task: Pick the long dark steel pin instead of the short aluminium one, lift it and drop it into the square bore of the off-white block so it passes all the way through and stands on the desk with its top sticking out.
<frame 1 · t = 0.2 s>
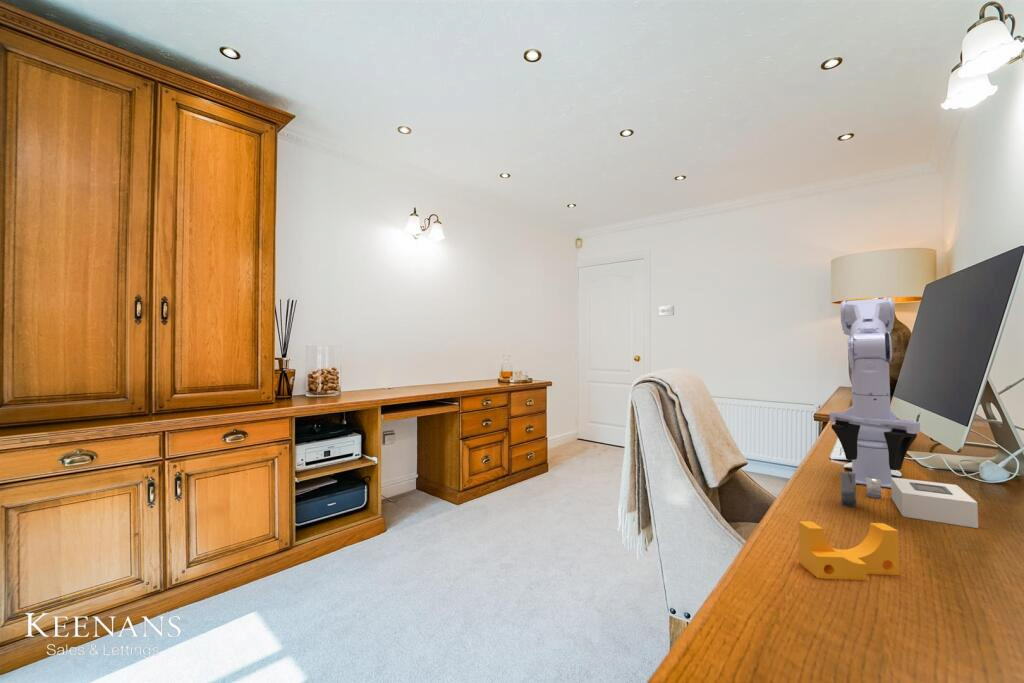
hand: (872, 464, 83), 10 cm above the table, fingers open, 7 cm apart
long pin: (848, 505, 87), on the table
pin block: (930, 511, 83), on the table
short pin: (874, 497, 92), on the table
pipe clamp: (852, 574, 61), on the table
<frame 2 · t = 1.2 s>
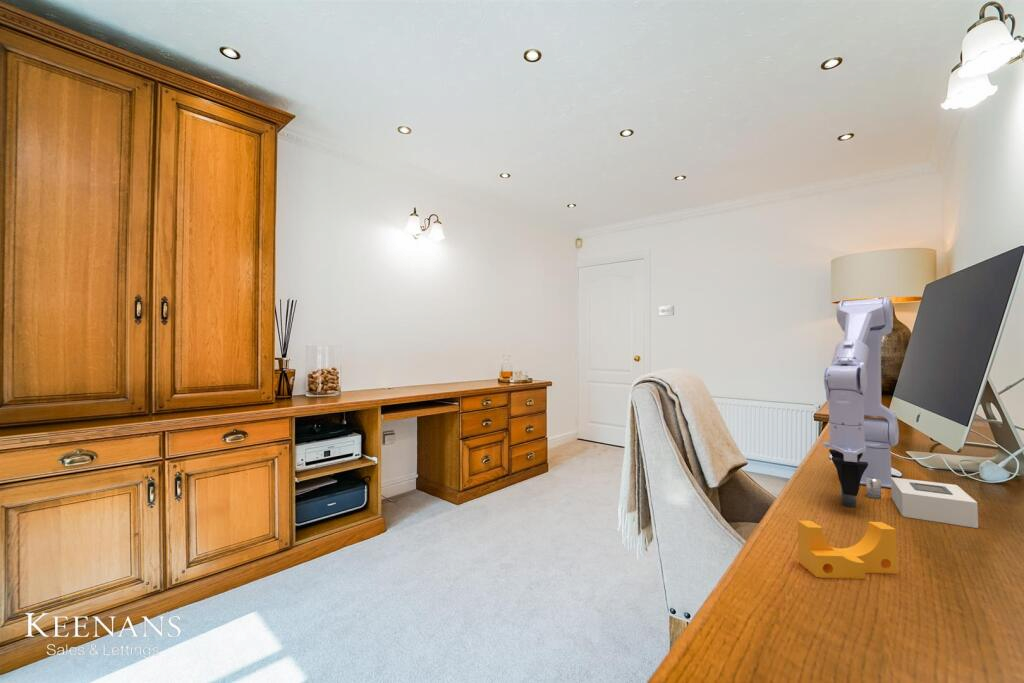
hand: (848, 489, 87), 3 cm above the table, fingers open, 7 cm apart
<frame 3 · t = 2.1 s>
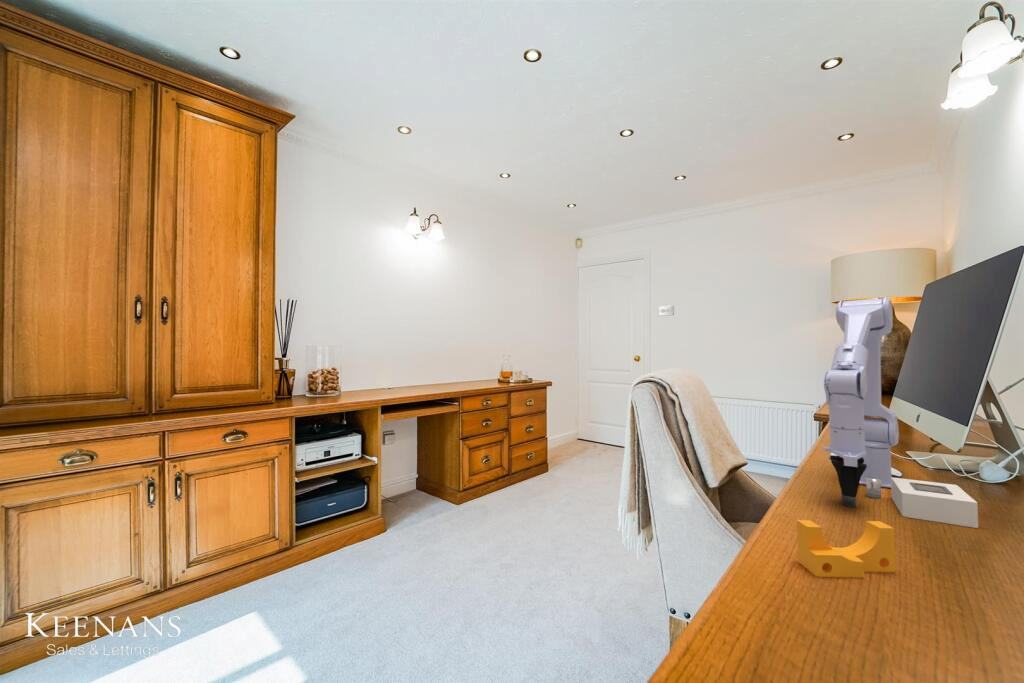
hand: (848, 493, 87), 2 cm above the table, fingers closed on long pin, 2 cm apart
long pin: (848, 505, 87), on the table, touching gripper
everything else where it was.
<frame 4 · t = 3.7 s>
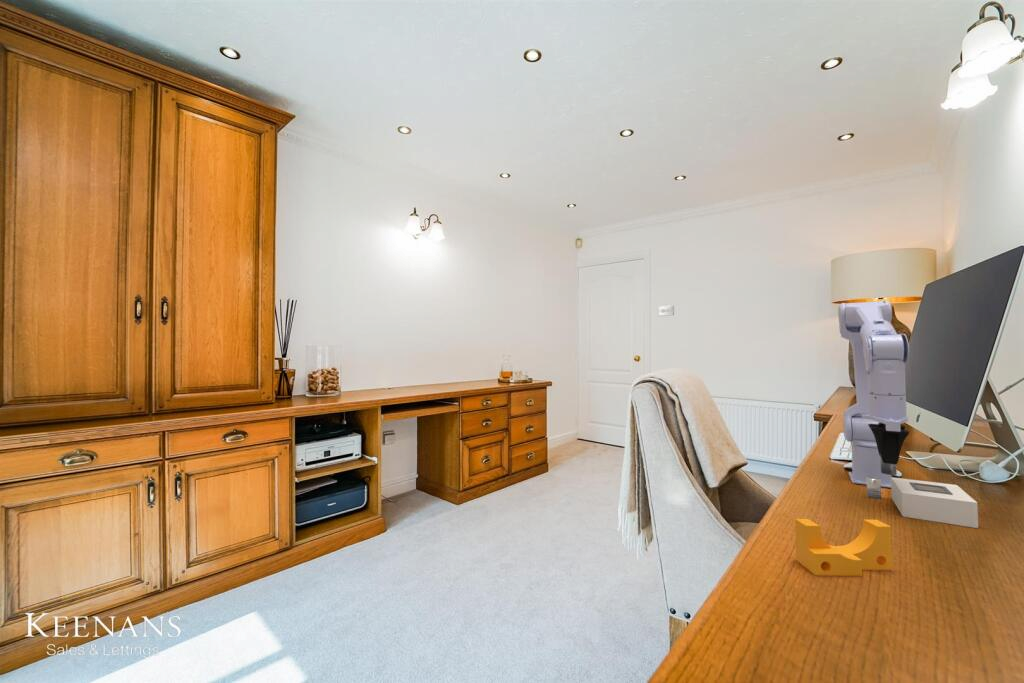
hand: (888, 461, 86), 9 cm above the table, fingers closed on long pin, 2 cm apart
long pin: (888, 473, 86), point 7 cm above the table, touching gripper
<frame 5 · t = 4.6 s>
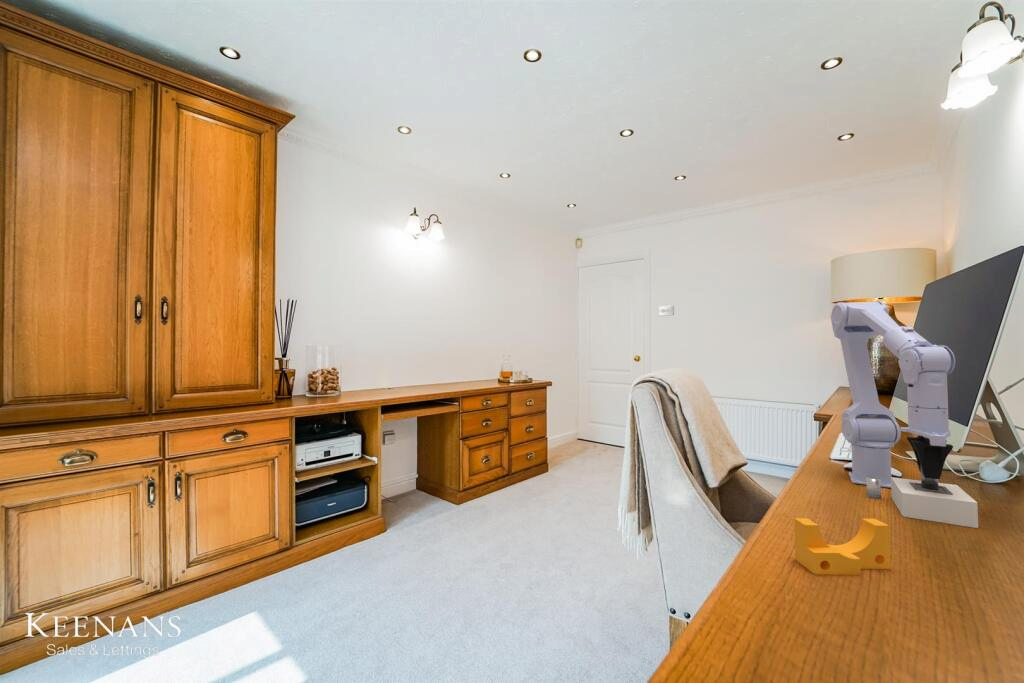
hand: (929, 476, 84), 7 cm above the table, fingers closed on long pin, 2 cm apart
long pin: (929, 488, 83), point 5 cm above the table, touching gripper
when the fingers open (5 cm above the table, at t = 5.1 s): long pin drops 3 cm, resting in pin block.
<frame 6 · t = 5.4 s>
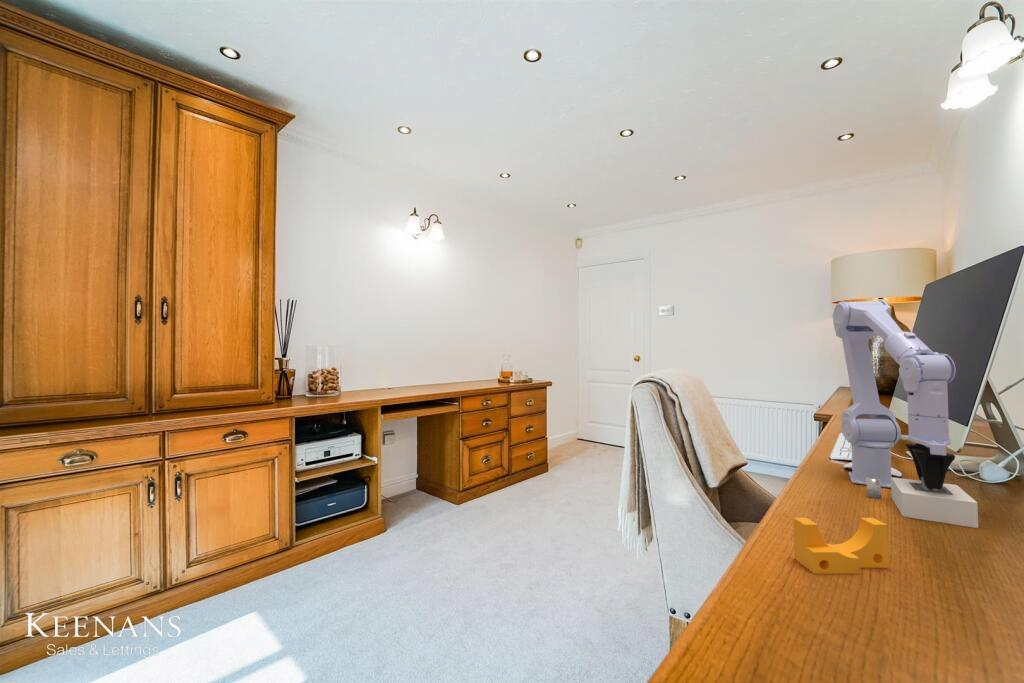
hand: (930, 484, 84), 5 cm above the table, fingers open, 5 cm apart
long pin: (930, 511, 83), resting in pin block
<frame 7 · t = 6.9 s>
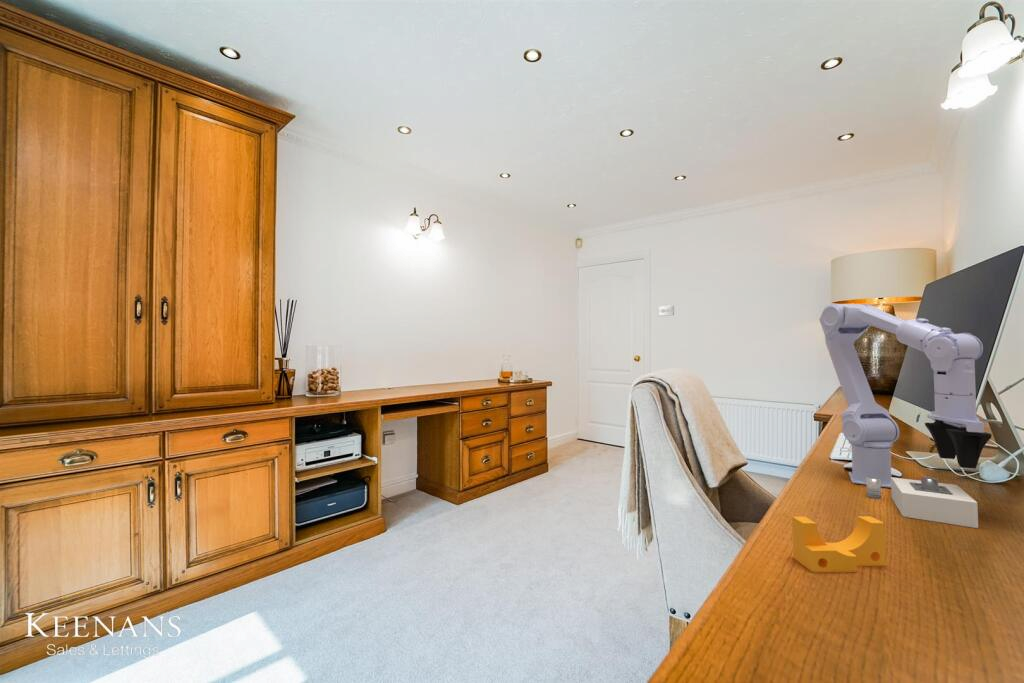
hand: (956, 462, 84), 9 cm above the table, fingers open, 7 cm apart
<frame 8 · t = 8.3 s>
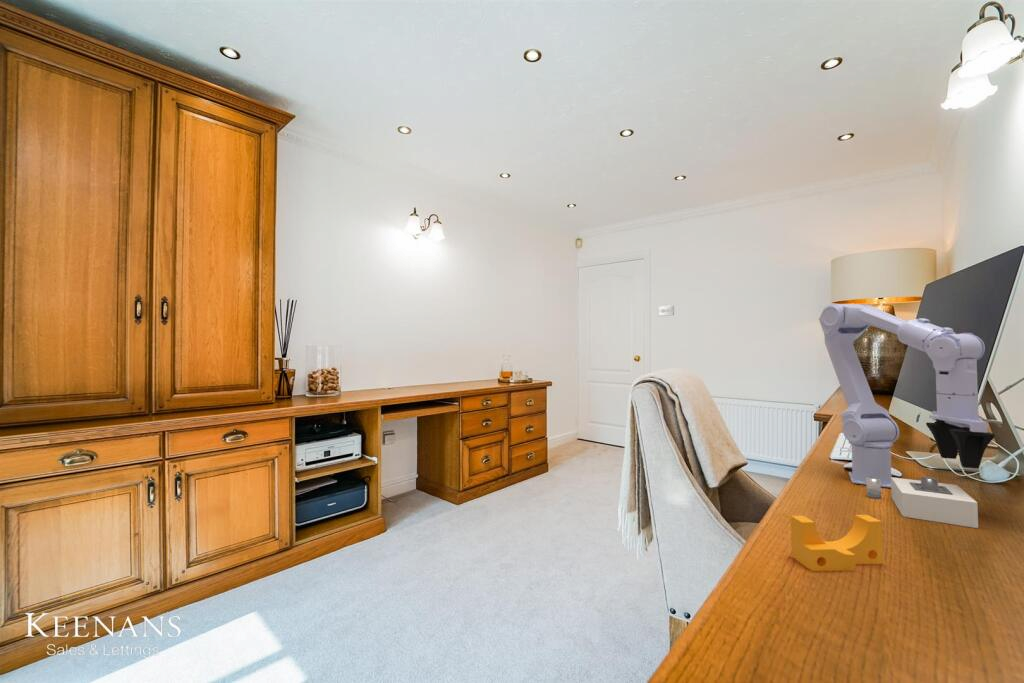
hand: (958, 462, 84), 9 cm above the table, fingers open, 7 cm apart
at the end: long pin 0.1 cm off-centre on the pin block, point 0.0 cm above the pin block's base; long pin tilted 0°; short pin moved 0.0 cm from its start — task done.
